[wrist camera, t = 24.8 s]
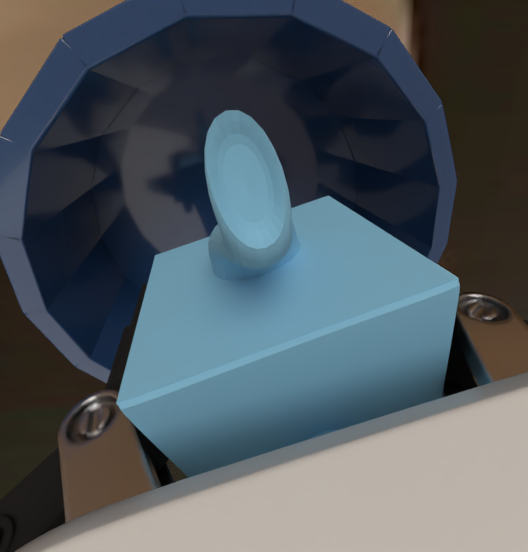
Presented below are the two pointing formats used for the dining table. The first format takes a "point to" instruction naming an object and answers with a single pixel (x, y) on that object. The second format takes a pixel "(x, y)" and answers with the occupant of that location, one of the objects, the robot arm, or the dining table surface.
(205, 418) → the teapot
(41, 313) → the pot
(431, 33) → the dining table surface
